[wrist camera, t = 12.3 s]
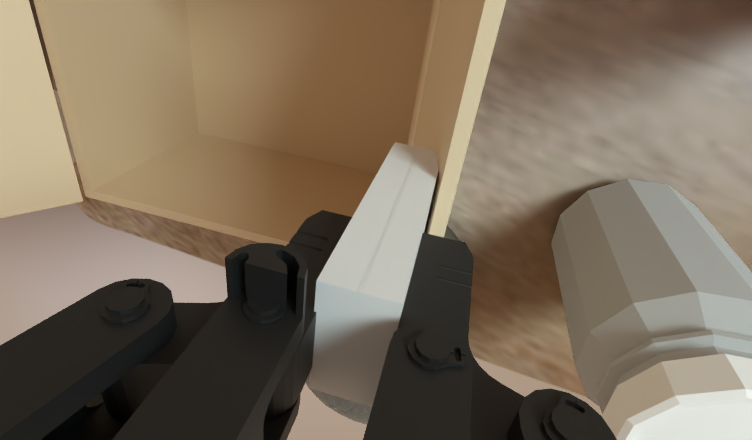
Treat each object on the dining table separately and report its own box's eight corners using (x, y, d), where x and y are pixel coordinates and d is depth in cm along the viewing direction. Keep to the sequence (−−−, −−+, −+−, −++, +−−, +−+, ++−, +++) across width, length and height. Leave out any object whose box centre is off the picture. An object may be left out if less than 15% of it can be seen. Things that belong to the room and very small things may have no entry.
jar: (595, 151, 30) (698, 339, 14) (730, 204, 29) (980, 455, 14) (526, 255, 35) (548, 472, 20) (639, 301, 34) (750, 559, 19)
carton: (489, -110, 24) (482, -167, 14) (424, 187, 34) (393, 278, 24) (171, -151, 27) (-27, -224, 17) (198, 134, 37) (85, 196, 27)
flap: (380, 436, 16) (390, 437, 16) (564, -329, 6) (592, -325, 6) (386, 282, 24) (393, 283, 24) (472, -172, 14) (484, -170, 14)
